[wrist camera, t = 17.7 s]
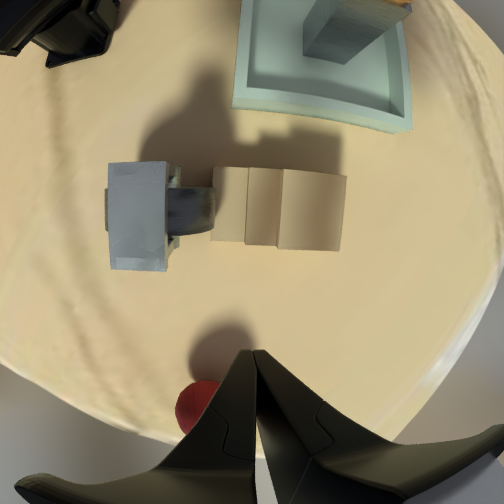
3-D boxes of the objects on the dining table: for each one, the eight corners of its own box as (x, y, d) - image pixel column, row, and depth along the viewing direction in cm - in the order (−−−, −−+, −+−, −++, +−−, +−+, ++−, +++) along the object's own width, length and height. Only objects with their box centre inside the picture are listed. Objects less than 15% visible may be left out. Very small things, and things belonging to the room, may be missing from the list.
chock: (211, 234, 21) (209, 247, 17) (214, 167, 20) (212, 164, 16) (319, 238, 22) (339, 251, 18) (324, 176, 21) (346, 175, 17)
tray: (231, 108, 19) (233, 97, 16) (244, -18, 15) (246, -37, 12) (392, 134, 20) (412, 130, 17) (382, 14, 17) (397, 1, 14)
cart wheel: (127, 234, 20) (75, 267, 12) (127, 169, 19) (71, 166, 11) (215, 236, 21) (210, 273, 13) (218, 169, 20) (214, 161, 11)
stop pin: (299, 57, 17) (359, -23, 6) (299, 20, 16) (349, -62, 6) (347, 68, 18) (429, 9, 7) (345, 31, 17) (414, -35, 6)
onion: (217, 411, 25) (218, 472, 18) (169, 388, 24) (157, 450, 16) (251, 379, 25) (262, 443, 17) (200, 352, 23) (195, 417, 16)
